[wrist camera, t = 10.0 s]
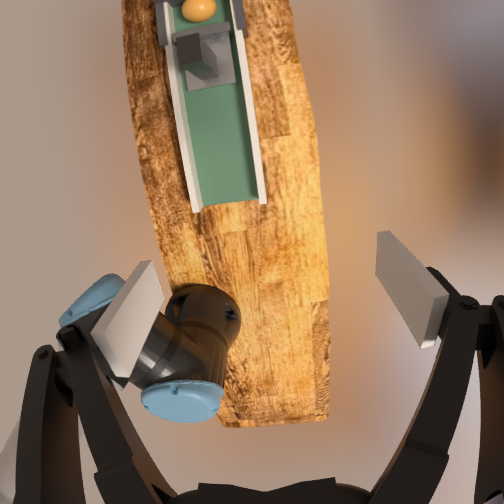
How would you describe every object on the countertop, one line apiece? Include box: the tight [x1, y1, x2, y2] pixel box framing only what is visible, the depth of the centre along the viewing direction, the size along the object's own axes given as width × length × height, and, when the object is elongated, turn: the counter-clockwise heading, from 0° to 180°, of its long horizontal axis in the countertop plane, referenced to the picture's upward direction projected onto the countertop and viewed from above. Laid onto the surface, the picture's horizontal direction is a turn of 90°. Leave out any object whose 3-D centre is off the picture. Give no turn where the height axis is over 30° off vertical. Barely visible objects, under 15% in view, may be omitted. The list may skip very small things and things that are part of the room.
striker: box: [173, 22, 236, 92], centre depth 28 cm, size 9×8×13 cm
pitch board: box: [164, 0, 267, 213], centre depth 36 cm, size 36×11×4 cm, turn 8°
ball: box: [182, 0, 217, 23], centre depth 29 cm, size 5×5×5 cm
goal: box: [151, 0, 248, 51], centre depth 29 cm, size 9×12×7 cm
